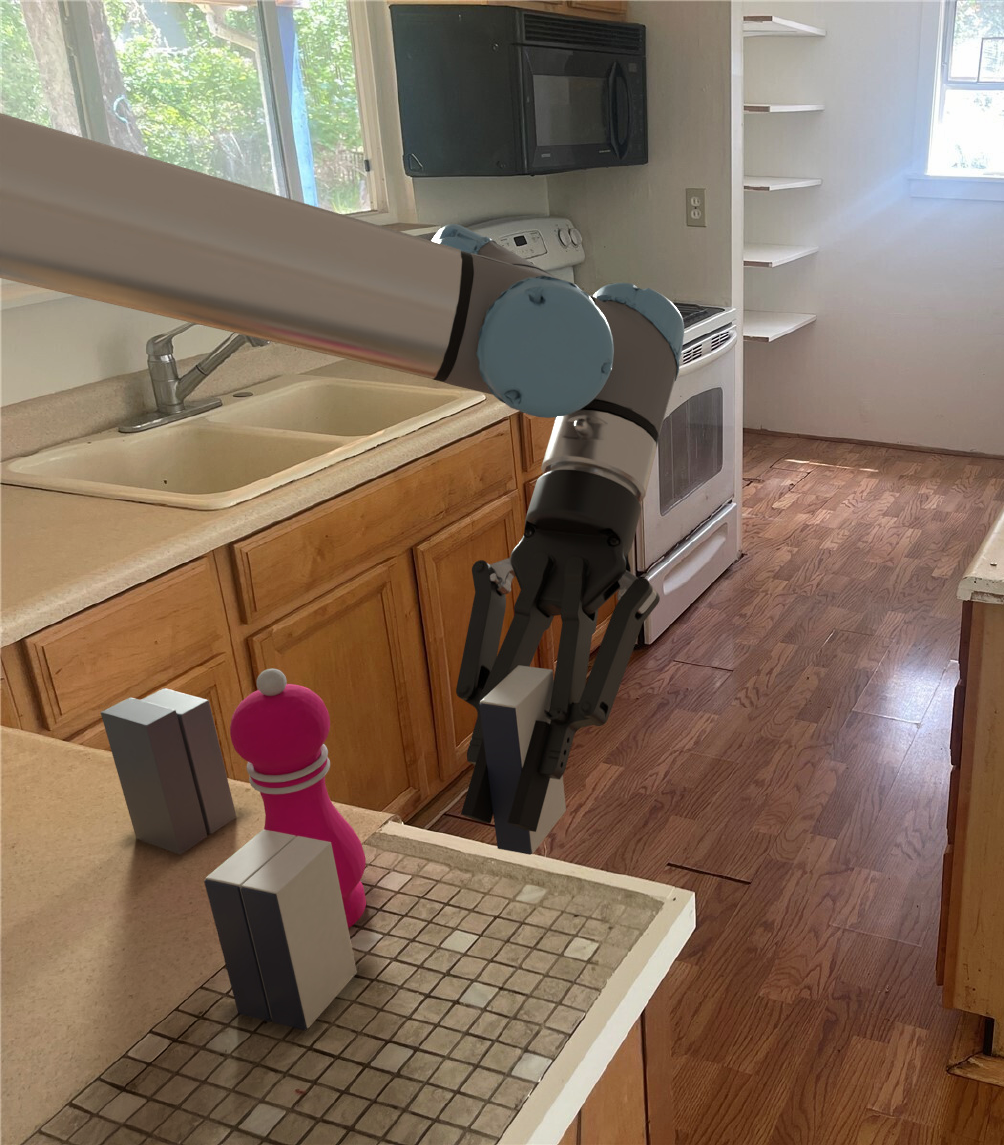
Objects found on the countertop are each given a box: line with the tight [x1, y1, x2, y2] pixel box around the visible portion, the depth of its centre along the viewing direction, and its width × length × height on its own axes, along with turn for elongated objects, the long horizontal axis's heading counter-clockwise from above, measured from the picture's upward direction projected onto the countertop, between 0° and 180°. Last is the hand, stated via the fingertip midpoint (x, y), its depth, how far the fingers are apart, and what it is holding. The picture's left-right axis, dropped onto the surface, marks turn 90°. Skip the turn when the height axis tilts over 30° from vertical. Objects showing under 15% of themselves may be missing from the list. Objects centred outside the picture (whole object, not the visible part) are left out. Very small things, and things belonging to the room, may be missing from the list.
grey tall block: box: [203, 828, 358, 1031], centre depth 67 cm, size 5×5×11 cm
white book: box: [479, 665, 567, 855], centre depth 70 cm, size 2×5×11 cm, turn 164°
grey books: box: [100, 687, 237, 855], centre depth 84 cm, size 5×5×12 cm
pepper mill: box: [229, 668, 367, 929], centre depth 73 cm, size 7×7×20 cm
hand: (498, 822), depth 67 cm, fingers closed on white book, 2 cm apart
